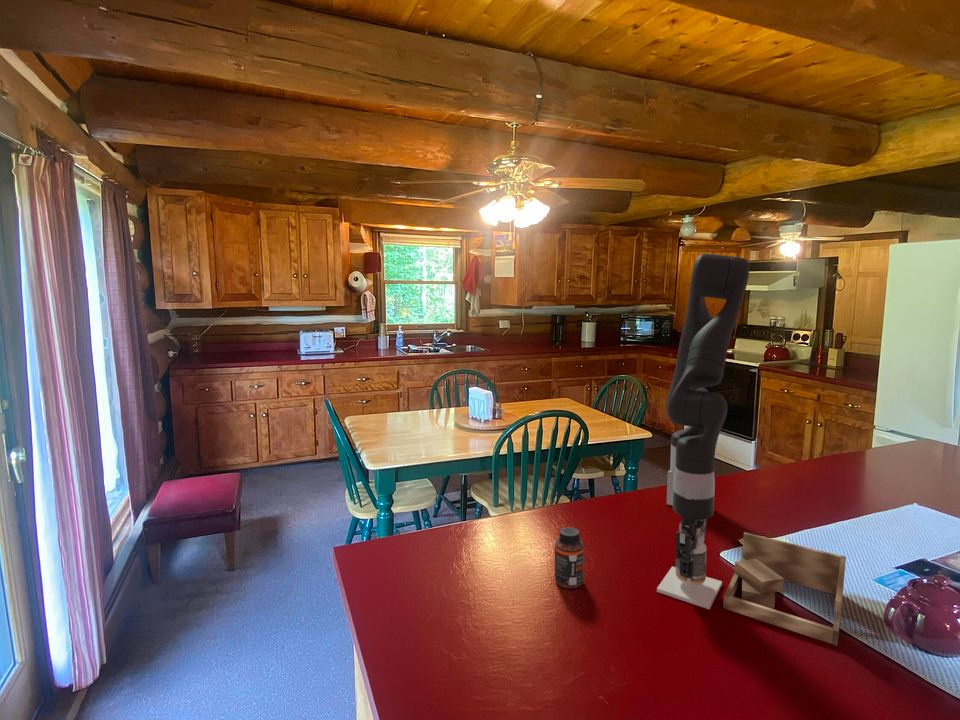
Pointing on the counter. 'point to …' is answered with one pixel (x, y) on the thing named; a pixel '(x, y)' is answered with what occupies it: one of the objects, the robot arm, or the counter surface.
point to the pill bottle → (695, 564)
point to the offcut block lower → (757, 596)
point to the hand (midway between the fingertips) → (690, 568)
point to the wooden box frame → (796, 568)
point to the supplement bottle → (569, 559)
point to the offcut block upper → (759, 576)
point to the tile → (690, 590)
